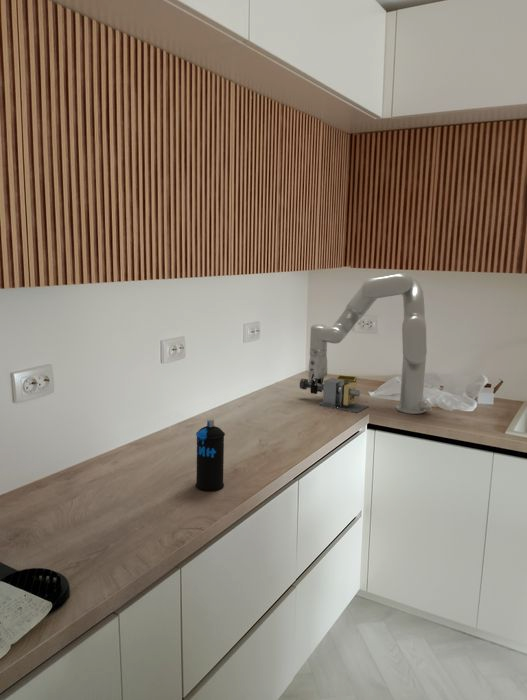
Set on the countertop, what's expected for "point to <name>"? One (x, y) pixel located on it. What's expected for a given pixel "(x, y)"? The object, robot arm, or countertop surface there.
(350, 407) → the mat
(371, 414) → the countertop surface
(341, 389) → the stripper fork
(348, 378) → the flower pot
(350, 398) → the gold bearing plate
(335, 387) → the block
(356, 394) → the shaft
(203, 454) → the aerosol can
